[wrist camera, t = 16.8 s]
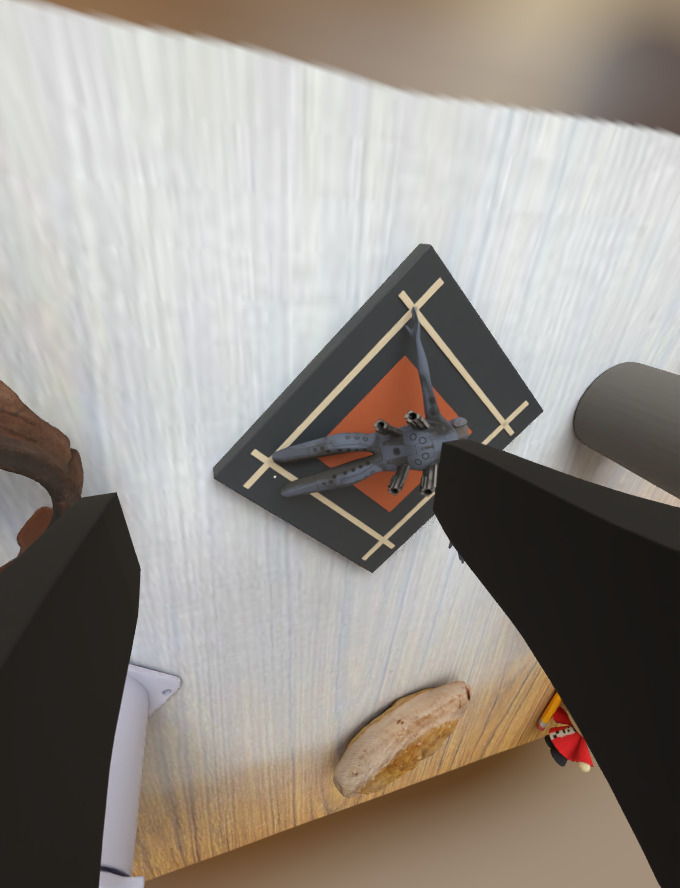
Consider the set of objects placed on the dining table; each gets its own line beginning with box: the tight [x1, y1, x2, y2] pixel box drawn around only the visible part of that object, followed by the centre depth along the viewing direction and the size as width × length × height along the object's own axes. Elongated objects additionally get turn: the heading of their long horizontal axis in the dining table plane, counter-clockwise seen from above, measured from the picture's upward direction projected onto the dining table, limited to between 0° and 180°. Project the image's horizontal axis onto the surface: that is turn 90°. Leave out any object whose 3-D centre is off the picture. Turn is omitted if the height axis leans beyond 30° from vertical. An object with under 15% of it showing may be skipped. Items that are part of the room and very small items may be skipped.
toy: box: [545, 706, 593, 772], centre depth 42 cm, size 7×7×15 cm
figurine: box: [272, 307, 470, 563], centre depth 19 cm, size 12×10×5 cm
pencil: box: [537, 692, 562, 731], centre depth 43 cm, size 1×18×1 cm, turn 171°
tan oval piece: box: [333, 681, 472, 798], centre depth 34 cm, size 5×14×4 cm, turn 121°
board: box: [213, 244, 543, 573], centre depth 21 cm, size 14×12×1 cm
